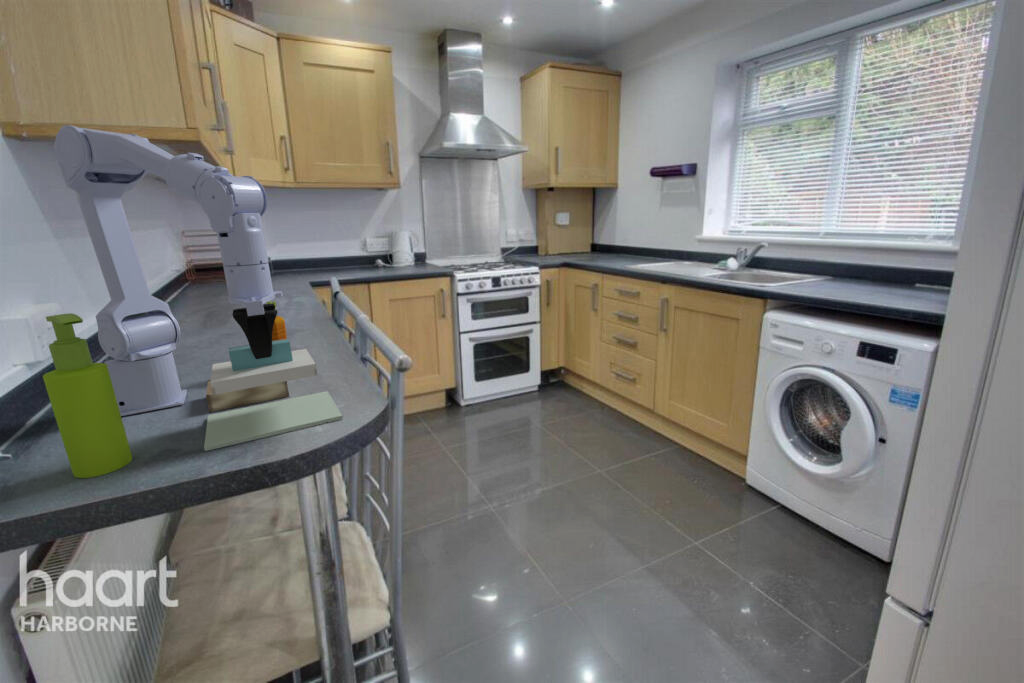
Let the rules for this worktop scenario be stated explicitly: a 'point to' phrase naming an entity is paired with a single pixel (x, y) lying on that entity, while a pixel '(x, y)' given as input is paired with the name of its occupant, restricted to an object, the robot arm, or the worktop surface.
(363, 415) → the worktop surface
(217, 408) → the storage box
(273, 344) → the lid
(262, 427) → the mat
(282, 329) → the carrot
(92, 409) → the soap dispenser
